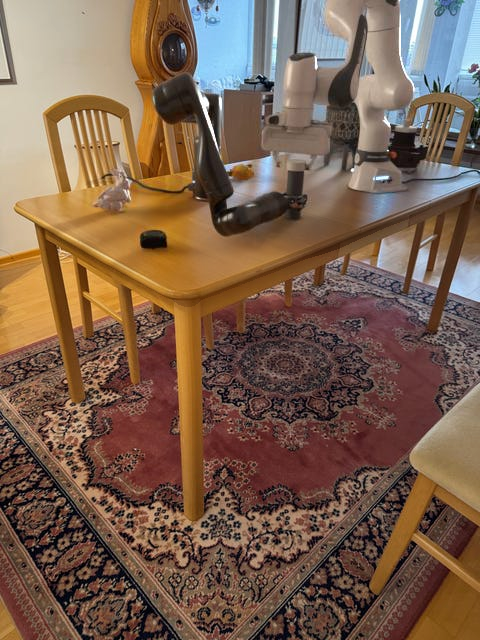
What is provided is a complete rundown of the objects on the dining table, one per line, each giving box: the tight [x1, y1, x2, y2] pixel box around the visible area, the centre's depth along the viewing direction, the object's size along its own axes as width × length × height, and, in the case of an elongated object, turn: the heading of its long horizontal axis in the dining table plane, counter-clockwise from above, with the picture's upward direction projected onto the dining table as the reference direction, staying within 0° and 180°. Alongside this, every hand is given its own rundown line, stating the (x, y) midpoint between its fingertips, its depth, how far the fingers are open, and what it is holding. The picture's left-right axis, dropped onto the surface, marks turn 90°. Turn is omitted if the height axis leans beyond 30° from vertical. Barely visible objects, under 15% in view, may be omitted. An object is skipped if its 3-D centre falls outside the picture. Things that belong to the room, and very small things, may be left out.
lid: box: [286, 158, 308, 172], centre depth 135 cm, size 6×6×2 cm
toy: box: [226, 163, 256, 182], centre depth 185 cm, size 11×6×15 cm
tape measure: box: [139, 229, 168, 250], centre depth 117 cm, size 7×7×4 cm
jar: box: [284, 170, 305, 221], centre depth 139 cm, size 5×5×16 cm
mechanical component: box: [388, 119, 430, 174], centre depth 205 cm, size 22×21×30 cm
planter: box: [323, 101, 360, 172], centre depth 204 cm, size 20×20×26 cm
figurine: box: [92, 167, 133, 213], centre depth 142 cm, size 8×15×13 cm, turn 145°
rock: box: [333, 147, 351, 154], centre depth 243 cm, size 13×9×6 cm, turn 131°
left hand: (298, 195), depth 142 cm, fingers closed on jar, 5 cm apart
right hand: (293, 168), depth 136 cm, fingers open, 8 cm apart
